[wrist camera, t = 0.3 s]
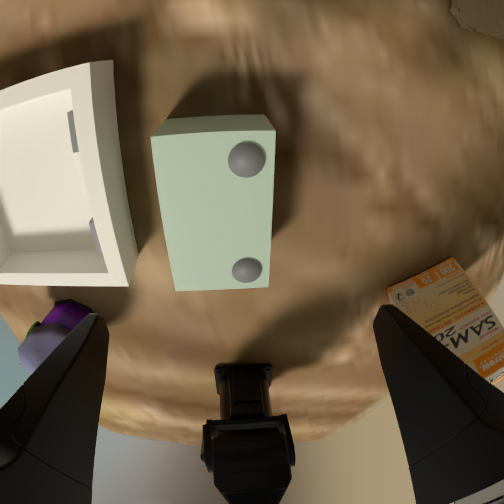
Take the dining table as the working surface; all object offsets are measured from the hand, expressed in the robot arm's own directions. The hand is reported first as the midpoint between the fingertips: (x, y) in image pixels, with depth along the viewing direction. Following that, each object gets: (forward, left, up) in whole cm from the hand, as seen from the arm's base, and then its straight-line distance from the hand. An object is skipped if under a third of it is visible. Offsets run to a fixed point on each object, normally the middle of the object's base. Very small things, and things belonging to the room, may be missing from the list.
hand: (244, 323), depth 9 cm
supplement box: (-11, -19, -13) cm, 26 cm away
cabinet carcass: (+1, +14, -13) cm, 19 cm away
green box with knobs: (-1, +1, -13) cm, 13 cm away
